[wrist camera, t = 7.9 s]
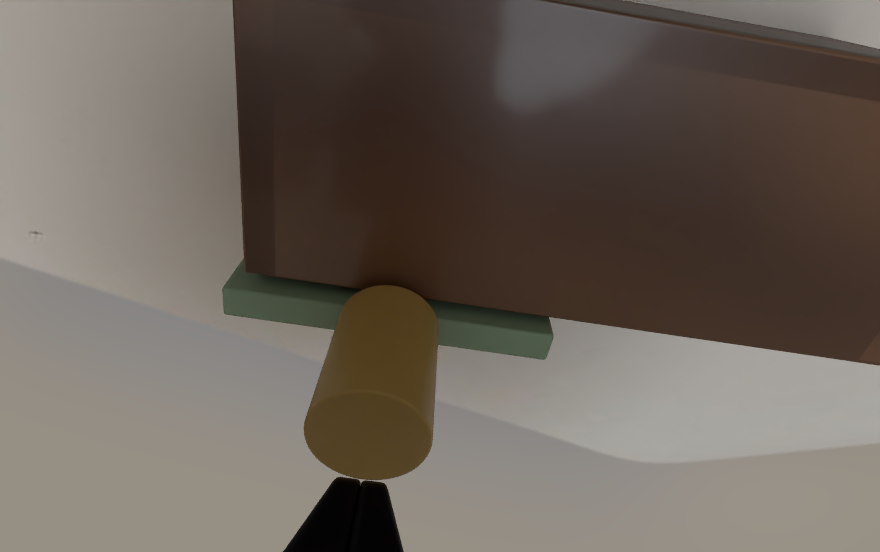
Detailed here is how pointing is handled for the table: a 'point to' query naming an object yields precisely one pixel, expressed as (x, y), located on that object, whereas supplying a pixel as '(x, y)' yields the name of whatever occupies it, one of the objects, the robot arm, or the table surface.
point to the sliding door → (379, 362)
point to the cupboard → (568, 164)
